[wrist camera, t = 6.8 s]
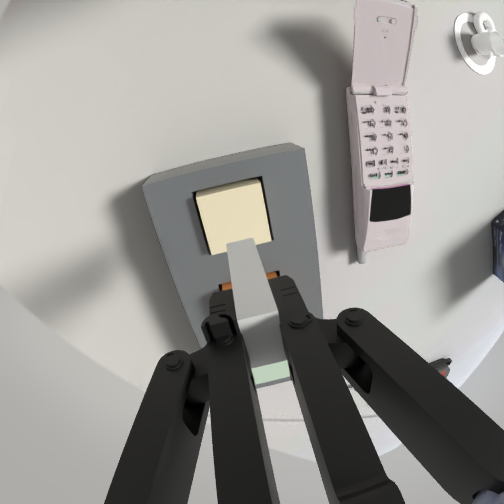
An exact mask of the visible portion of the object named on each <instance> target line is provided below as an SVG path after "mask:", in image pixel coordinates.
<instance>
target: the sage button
mask: <svg viewBox="0 0 504 504" xmlns="http://www.w3.org/2000/svg"><path fill="white" fill-rule="evenodd" d="M251 369H252V373H253V376H254V380H255V385H256V384H260V383H265V382H269V381H273V380H277V379H281V378H285V377H289V376H290V373H289V367H288V361H287V360H285V361H281V362H277V363H273V364H269V365H265V366H261V367H256V368H251Z"/></svg>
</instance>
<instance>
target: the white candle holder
mask: <svg viewBox="0 0 504 504" xmlns="http://www.w3.org/2000/svg"><path fill="white" fill-rule="evenodd" d="M483 21H484V22H485V24H486V27H487V29H486V28H485V26H484V25H483V24H482V22H483ZM464 22H472V23H474V27H475V29H476V31H477V32H478V34H475V35H474V36H472V38H471V44H472V47H473V49H474V50H475V51H476V53H477V54H478V55H479V56H480V57H482V58H484V59H489V61H488V63H487V64H486V65H484V66H479V65H477V64H475V63H474V62H473V61H472V60H471V59H470V58H469V57H468V55H467V54H466V52H465V50H464V48H463V45H462V42H461V36H460V30H461V26H462V24H463V23H464ZM454 34H455V39H456V43H457V46H458V49H459V51H460V53H461V55H462V57H463V59H464V60H465V62H466V63H467V64H468V66H469V67H470V68H471V69H472V70H474V71H475V72H477V73H478V74H482V75H486V74H488V73H490V72H491V71H492V69H493V67H494V64H495V56H499V57H502V56H504V42H503V39H502V37H501V36H500V35H499V33H497V32H496V31H495V26H494V23H493V21H492V20H491V18H490V17H489V16H488V15H487V14H485V13H483V12H478V13H476V14H475V15H474V16H473V15H471V14H467V13H463V14H460V15H459V16H458V17H457V18H456V21H455V25H454ZM479 53H480V54H479ZM481 54H483V55H481Z"/></svg>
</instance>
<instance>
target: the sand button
mask: <svg viewBox="0 0 504 504" xmlns="http://www.w3.org/2000/svg"><path fill="white" fill-rule="evenodd" d="M196 200H197V204H198V208H199V211H200V215H201V219H202V222H203V226H204V229H205V233H206V237H207V240H208V244H209V247H210V251H211V254H212V255H215V254H219V253H223V252H227V247H226V244H227V243H231V242H235V241H240V240H244V239H248V238H253V239H254V242H255V245H257V244H261V243H266V242H270V241H271V236H270V230H269V225H268V219H267V214H266V209H265V204H264V198H263V193H262V188H261V183H260V181H259V180H258V178H257V177H253V178H248V179H244V180H239V181H235V182H231V183H226V184H222V185H218V186H214V187H210V188H206V189H201V190H197V194H196Z"/></svg>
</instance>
